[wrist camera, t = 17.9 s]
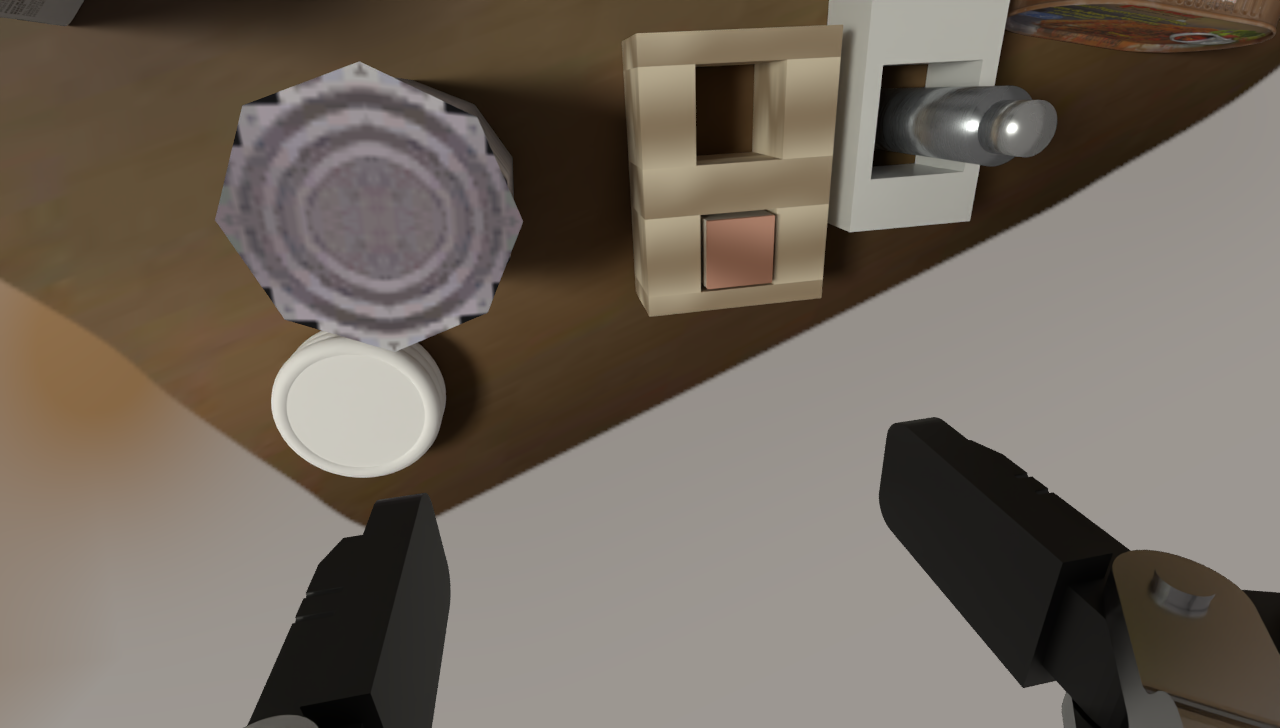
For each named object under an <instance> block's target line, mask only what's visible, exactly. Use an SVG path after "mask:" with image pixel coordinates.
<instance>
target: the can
mask: <svg viewBox="0 0 1280 728" xmlns="http://www.w3.org/2000/svg"><path fill="white" fill-rule="evenodd" d="M215 220H216V222H217V223H218V225H219V226H220V228H221V229H222V230H223V232H224V233H225V235H226V236H227V238H228V239H229V240H230V242H231V243H232V245H233V246H234V248H235V249H236V250H237V252H238V253H239V255H240V256H241V258H242V259H243V260H244V262H245V263H246V265H247V266H248V268H249V269H250V270H251V272H252V273H253V275H254V276H255V278H256V279H257V280H258V282H259V283H260V285H261V286H262V288H263V289H264V290H265V292H266V293H267V295H268V296H269V298H270V299H271V300H272V302H273V303H274V305H275V306H276V307H277V309H278V310H279V312H280V313H281V315H282V316H283V317H284V319H285V320H288V321H292V322H295V323H298V324H302V325H305V326H308V327H312V328H315V329H319V330H322V331H325V332H329V333H332V334H336V335H339V336H342V337H346V338H349V339H352V340H356V341H359V342H363V343H366V344H369V345H373V346H376V347H380V348H383V349H386V350H390V351H393V352H396V351H398V350H401V349H403V348H405V347H408V346H410V345H412V344H415V343H417V342H420V341H422V340H424V339H427V338H429V337H431V336H434V335H436V334H438V333H441V332H443V331H446V330H448V329H450V328H453V327H455V326H457V325H460V324H462V323H464V322H467V321H469V320H471V319H474V318H476V317H479V316H481V315H483V314H486V313H488V310H489V308H490V305H491V302H492V300H493V297H494V295H495V292H496V290H497V287H498V285H499V282H500V279H501V277H502V274H503V272H504V269H505V267H506V265H507V263H508V262H509V260H510V255H511V251H512V249H513V246H514V244H515V241H516V239H517V236H518V234H519V231H520V228H521V226H522V223H523V220H522V218H521V215H520V213H519V211H518V209H517V206H516V204H515V202H514V189H513V158H512V156H511V155H510V153H509V152H508V151H507V149H506V148H505V146H504V145H503V144H502V142H501V141H500V139H499V138H498V137H497V135H496V134H495V132H494V131H493V130H492V128H491V127H490V125H489V124H488V123H487V121H486V120H485V118H484V117H483V116H482V114H481V113H480V111H479V110H478V109H477V107H476V106H475V104H472V103H469V102H467V101H464V100H462V99H459V98H457V97H454V96H452V95H449V94H446V93H444V92H441V91H439V90H436V89H434V88H431V87H429V86H426V85H423V84H421V83H418V82H416V81H413V80H408V79H401V78H394V77H391V76H389V75H387V74H385V73H383V72H380V71H378V70H376V69H374V68H372V67H370V66H368V65H366V64H363V63H361V62H357V63H354V64H352V65H349V66H346V67H344V68H341V69H338V70H336V71H333V72H330V73H328V74H325V75H322V76H320V77H317V78H314V79H312V80H309V81H306V82H304V83H301V84H299V85H296V86H293V87H291V88H288V89H285V90H283V91H280V92H277V93H275V94H272V95H269V96H267V97H264V98H261V99H259V100H256V101H253V102H251V103H248V104H245V105H243V106H242V110H241V114H240V118H239V123H238V127H237V131H236V135H235V139H234V143H233V148H232V152H231V156H230V160H229V164H228V168H227V173H226V177H225V181H224V185H223V189H222V194H221V198H220V202H219V206H218V210H217V214H216V219H215Z"/></svg>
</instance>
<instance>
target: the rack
mask: <svg viewBox="0 0 1280 728" xmlns="http://www.w3.org/2000/svg"><path fill="white" fill-rule="evenodd" d="M1009 3H1010V0H829V9H828V23H827V25H843V36H842V48H841V60H840V73H839V85H838V97H837V110H836V122H835V134H834V147H833V159H832V171H831V183H830V196H829V208H828V220H827V223H829V224H831V225H834V226H836V227H838V228H841V229H843V230H846V231H848V232H858V231H868V230H879V229H890V228H900V227H911V226H922V225H932V224H943V223H953V222H964V221H970V218H971V212H972V207H973V201H974V196H975V190H976V185H977V179H978V174H979V168H980V165H978V164H971V163H965V162H958V161H951V160H945V159H938V158H932V157H925V156H919V155H916V158H915V163H913V164H900V165H888V166H875V167H872V163H873V154H874V144H875V135H876V126H877V117H878V108H879V98H880V89H881V80H882V71H883V66H899V65H917V64H928V71H927V78H926V85H925V87H972V86H994V85H995V80H996V74H997V69H998V63H999V58H1000V52H1001V47H1002V41H1003V36H1004V30H1005V25H1006V19H1007V14H1008V8H1009Z"/></svg>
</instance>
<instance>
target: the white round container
mask: <svg viewBox="0 0 1280 728" xmlns="http://www.w3.org/2000/svg"><path fill="white" fill-rule="evenodd" d="M271 404H272V413H273V418H274V421H275V423H276V426H277V428H278V430H279V432H280V434H281V435H282V437H283V438H284V440H285V441H286V442H287V444H288V445H289V446H290V447H291V448H292V449H293V450H294V451H295V452H296V453H297V454H298V455H300V456H301V457H302V458H303V459H305V460H306V461H308V462H310V463H311V464H313V465H315V466H317V467H319V468H321V469H323V470H325V471H328V472H331V473H334V474H338V475H342V476H349V477H361V478H366V477H377V476H383V475H387V474H390V473H394V472H396V471H399V470H402V469H404V468H405V467H407V466H409V465H411V464H412V463H414V462H415V461H417V460H418V459H419V458H420V457H421V456H422V455H423V454H425V453H426V451H427V450H428V449H429V448H430V447H431V445H432V444H433V442H434V441H435V439H436V437H437V435H438V432H439V429H440V425H441V422H442V417H443V414H444V410H445V405H446V388H445V384H444V380H443V377H442V374H441V372H440V370H439V368H438V366H437V364H436V362H435V361H434V359H433V358H432V357H431V355H430V354H429V353H428V352H427V351H426V350H425V349H424V348H423V347H422V346H421V345H420V344H419V343H418V342H417V343H415V344H412V345H410V346H408V347H405V348H403V349H401V350H398V351H396V352H393V351H390V350H386V349H383V348H380V347H376V346H373V345H369V344H366V343H363V342H359V341H356V340H352V339H349V338H346V337H342V336H339V335H336V334H332V333H329V332H325V331H320V332H319V333H317V334H315V335H313V336H312V337H310V338H309V339H307V340H306V341H305V342H304V343H303V344H302V345H301V346H300V347H299V348H298V349H297V350H296V352H294V353H293V354H292V356H291V357H290V358H289V359H288V360H287V361H286V362H285V364H284V365H283V366H282V368H281V369H280V371H279V373H278V375H277V376H276V379H275V382H274V385H273V390H272V398H271Z"/></svg>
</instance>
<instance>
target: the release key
mask: <svg viewBox="0 0 1280 728" xmlns="http://www.w3.org/2000/svg"><path fill="white" fill-rule="evenodd" d="M774 227H775V215H773V214H771V213H769V212H767V211H764V210H753V211H742V212H730V213H718V214H707V215H700V249H701V283H702V284H703V285H704V286H705V287H706V288H707V289H716V288H726V287H735V286H745V285H754V284H764V283H772V273H773V250H774Z"/></svg>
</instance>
